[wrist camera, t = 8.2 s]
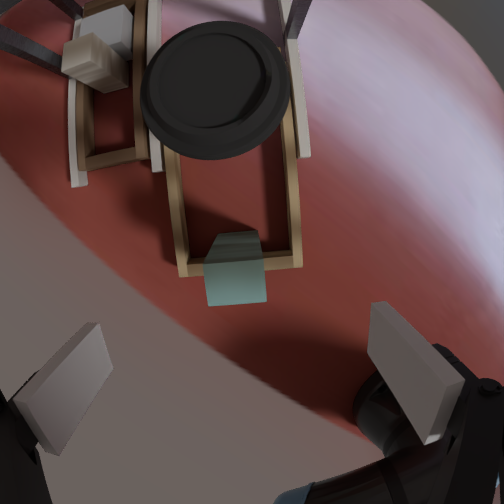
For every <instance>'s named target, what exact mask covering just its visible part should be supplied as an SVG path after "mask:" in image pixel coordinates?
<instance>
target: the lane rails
mask: <svg viewBox="0 0 504 504" xmlns="http://www.w3.org/2000/svg"><path fill="white" fill-rule="evenodd" d="M278 6H279V12H280V19H281V25H282V32H283V34H284V30H285V53H286V60H287V68H288V74H289V79H290V93H291V102H292V111H293V121H294V131H295V141H296V152H297V158H308V157H311V151H310V140H309V130H308V120H307V110H306V102H305V93H304V85H303V77H302V70H301V63H300V56H299V49H298V42H297V39H287V36H286V29H285V26H286V23H287V19H288V16H289V12H290V8H291V2H290V0H278ZM82 8H83V15H84V6H83V7H82ZM161 14H162V0H149V3H148V25H147V65H148V64H149V62H150V60H151V59H152V57H153V56H154V54H155V53H156V52H157V51H158V49H159V48H160V47H161ZM82 19H83V16H82V18H81V19H78V20H76V21H75V25H74V32H73V40H74V39H76V38H78V37H79V35H80V27H81V20H82ZM76 95H77V79H75V78H71V79H69V89H68V142H69V161H70V174H71V185H72V188H73V187H82V186H86V185H88V180H87V171H79V168H78V153H77V129H76ZM149 137H150V151H151V163H152V172H164V171H166V167H165V155H164V144H162V143H161V142H160V141H159V140H158V139H157V138H156V137H155V136H154V135H153V134H152V132H151V131H150V130H149Z"/></svg>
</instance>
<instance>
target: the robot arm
mask: <svg viewBox="0 0 504 504" xmlns="http://www.w3.org/2000/svg"><path fill="white" fill-rule="evenodd" d="M367 353H368V355H369V357H370V358H371V360H372V361H373V363H374V364H375V366H376V367H377V369H378V371H376V372H375V373H374V374H373V375H372V376H371V377H370V378H369V379H368V380H367V381H366V382H365V383H364V385H363V386H362V387H361V389H360V390H359V392H358V394H357V396H356V398H355V400H354V404H353V416H354V419H355V421H356V424H357V426H358V428H359V430H360V431H361V432H362V433H363V434H364V435H365V436H366V437H367V438H368V439H369V440H370V441H372V442H373V443H374V444H375V445H376V446H377V447H378V448H379V449H380V450H382V452H383V454H384V456H385V458H384V459H381V460H379V461H376V462H374V463H371V464H369V465H366V466H364V467H361V468H358V469H356V470H353V471H350V472H347V473H345V474H342V475H339V476H335V477H332V478H329V479H326V480H323V481H319V482H316V483H315V482H312V483H309V484H308V485H306V486H303V487H300V488H296V489H293V490H289V491H286V492H284V493H282V494H281V495H279V496H278V497H277V498H276V500H275V501H274V503H273V504H492V503H493V498H494V494H495V489H496V487H497V486H498V484H499V483H500V500H501V504H504V386H503V387H502V385H501V384H500V383H499V382H497V381H495V380H493V379H489V378H481V379H478V378H477V377H476V376H475V375H474V374H473V373H472V372H471V371H470V370H469V369H468V368H467V367H466V366H465V365H464V364H463V363H462V362H460V360H459V359H458V358H457V357H456V356H454V354H453V353H452V352H451V351H450V350H449V349H448V348H446V347H444V346H442V345H440V344H438V343H437V344H433V345H431V344H430V343H429V342H428V341H427V340H426V339H425V338H424V337H423V336H422V335H421V334H420V333H419V332H418V331H417V330H416V329H415V328H413V327H412V326H411V325H410V324H409V323H408V322H407V321H406V320H405V319H404V318H403V317H402V316H401V315H400V314H399V313H398V312H397V311H396V310H395V309H394V308H393V307H391V306H390V305H389V304H388V303H387V302H386V301H383V302H376V303H371V315H370V328H369V339H368V349H367ZM113 369H114V368H113V365H112V363H111V360H110V357H109V354H108V351H107V347H106V344H105V341H104V338H103V334H102V332H101V328H100V324H99V323H86V324H85V325H84V326H83V327H82V328H81V329H80V330H79V331H78V332H77V333H76V334H75V335H74V336H73V337H72V338H71V339H70V340H69V341H68V342H67V343H66V344H65V345H64V346H63V347H62V348H61V349H60V350H59V351H58V352H57V353H56V354H55V355H54V356H53V357H52V358H51V359H50V360H49V361H48V362H47V363H46V364H45V365H44V366H43V367H42V368H41V369H40V370H38V371H37V372H35V373H34V374H33V375H32V376H31V377H30V378H29V379H28V381H26V382H25V383H24V385H23V386H22V387H21V388H20V389H19V390H18V391H17V392H16V393H15V394H14V395H13V396H12V397H11V399H10V400H9V401H8V402H7V401H6V399H5V397H4V395H3V393H2V391H1V390H0V504H52V501H51V498H50V494H49V491H48V487H47V484H46V480H45V476H44V473H43V469H42V465H41V460H40V456H39V452H38V450H37V449H36V447H35V446H36V444H37V443H38V442H39V443H40V445H41V446H42V448H43V449H44V450H45V452H48V453H51V454H54V455H57V456H60V454H61V452H62V451H63V449H64V447H65V446H66V444H67V442H68V441H69V439H70V437H71V436H72V434H73V432H74V430H75V429H76V427H77V425H78V424H79V422H80V421H81V419H82V417H83V416H84V414H85V413H86V411H87V409H88V408H89V406H90V405H91V403H92V401H93V400H94V398H95V397H96V395H97V394H98V392H99V390H100V389H101V387H102V386H103V384H104V383H105V381H106V380H107V378H108V377H109V375H110V373H111V372H112V370H113Z"/></svg>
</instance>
